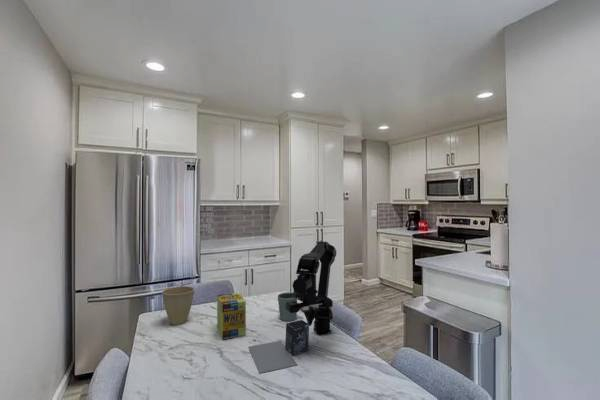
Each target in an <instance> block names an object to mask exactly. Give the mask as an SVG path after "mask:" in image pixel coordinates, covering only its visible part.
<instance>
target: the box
mask: <svg viewBox="0 0 600 400" xmlns="http://www.w3.org/2000/svg"><path fill="white" fill-rule="evenodd" d="M309 341H310V326H309V324H308V323H307V321H306V320H303V319H300V320H295V321H292V322H285V343H284V346H285V350H287V351H288V352H289V353H290V354H291V356H294V355H297V354H300V353H303V352H304V353H305V352H307V351H309V347H310V343H309Z"/></svg>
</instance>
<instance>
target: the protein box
mask: <svg viewBox="0 0 600 400" xmlns="http://www.w3.org/2000/svg"><path fill="white" fill-rule="evenodd" d="M216 298H217V299H216V300H217V302H216V303H217V304H216V307H217V308H216V309H217V311H216V316H217V317H216V319H217V320H216V322H217V324H216V327H217V330H218V333H219V335H220V337H221V340H222V341H227V340H232V339H237V338H243V337H246V336H247V334H246V333H247V328H246V327H247V325H246V324H247V321H246V320H247V317H246V316H247V314H246V312H247V311H246V309H247V308H246V300H245V299H244V298H243V296H242V295H241V293H240V292H231V293H230V292H229V293H221V294H217V295H216Z"/></svg>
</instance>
